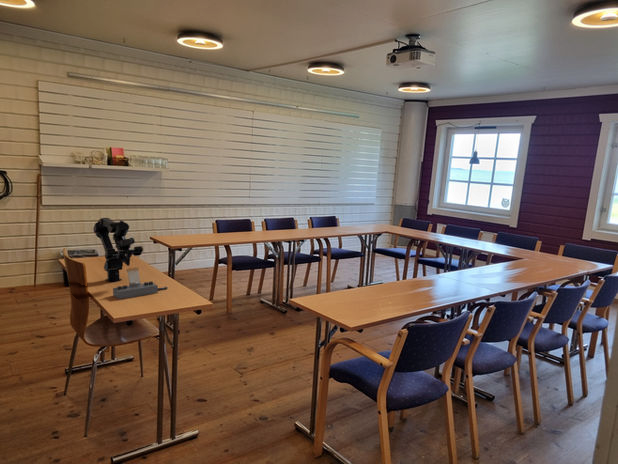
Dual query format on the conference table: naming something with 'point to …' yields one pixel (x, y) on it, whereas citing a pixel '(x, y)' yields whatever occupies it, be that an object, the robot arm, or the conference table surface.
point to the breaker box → (136, 290)
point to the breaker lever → (133, 276)
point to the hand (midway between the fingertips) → (128, 265)
